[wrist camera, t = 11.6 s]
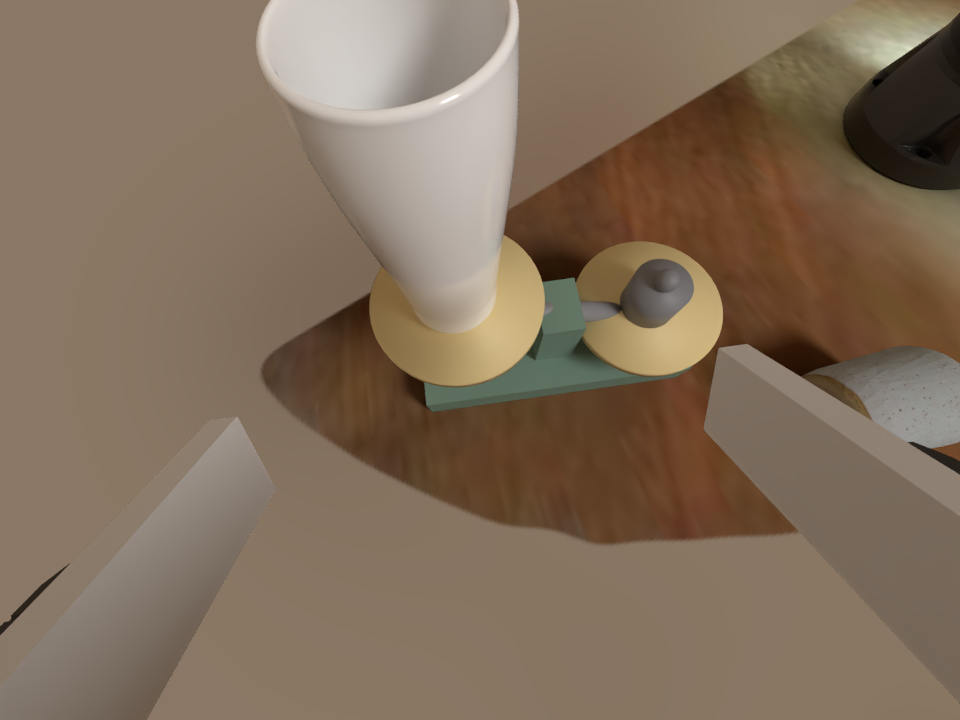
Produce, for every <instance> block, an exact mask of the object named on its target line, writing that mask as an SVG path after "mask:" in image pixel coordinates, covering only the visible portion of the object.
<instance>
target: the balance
mask: <svg viewBox="0 0 960 720" xmlns="http://www.w3.org/2000/svg"><path fill="white" fill-rule="evenodd" d="M369 313H370V321H371V325H372V329H373V332H374V334H375V337H376V339H377V341H378V343H379V345H380V346H381V348H382V349H383V351H384V352H385V353H386V354H387V356H388V357H389V358H390V359H391V360H392V361H393V362H394V363H395V364H396V365H397V366H398V367H399V368H400V369H401V370H403V371H404V372H406V373H407V374H409V375H410V376H412V377H414V378H416V379H418V380H420V381H422V382H424V385H425V396H426V406H427V407H428V408H429V409H430V410H431V411H432V412H435V411H442V410H449V409H456V408H463V407H470V406H477V405H484V404H491V403H498V402H505V401H512V400H519V399H526V398H533V397H540V396H547V395H554V394H561V393H568V392H575V391H582V390H589V389H596V388H603V387H610V386H617V385H624V384H631V383H638V382H645V381H652V380H659V379H666V378H673V377H676V376H678V375H680V374H682V373H683V372H685V371H687V370H689V369H690V368H691V366H692V365H694V364H695V363H697V362H698V361H699V360H701V359H702V358H703V357H704V356H705V355H706V354H707V353H708V352H709V351H710V350H711V349H712V347H713V346H714V345H715V343H716V341H717V339H718V337H719V334H720V331H721V328H722V321H723V309H722V302H721V299H720V295H719V292H718V290H717V288H716V286H715V284H714V282H713V281H712V279H711V277H710V276H709V275H708V274H707V272H706V271H705V270H704V269H703V268H702V267H701V266H700V265H699V264H698V263H697V262H696V261H694V260H693V259H692V258H690V257H689V256H687V255H686V254H684V253H682V252H680V251H678V250H676V249H674V248H671V247H669V246H666V245H662V244H658V243H652V242H627V243H622V244H618V245H615V246H612V247H610V248H608V249H606V250H604V251H602V252H600V253H599V254H597V255H596V256H595V257H594V258H592V259H591V260H590V261H589V262H588V263H587V265H586V266H585V267H584V268H583V270H582V271H581V273H580V275H579V277H578V279H577V282H575V278H568V279H561V280H554V281H547V282H542V280H541V276H540V274H539V272H538V270H537V267H536V266H535V264H534V263H533V261H532V259H531V258H530V257H529V256H528V254H527V253H526V252H525V251H524V250H523V249H522V248H521V247H520V246H519V245H518V244H517V243H515V242H514V241H512V240H511V239H509V238H508V237H506V236H503V242H502V249H501V255H500V262H499V269H498V276H497V297H496V302H495V305H494V307H493V309H492V311H491V313H490V314H489V316H488V317H487V318H486V319H485V320H484V321H483V322H482V323H481V324H480V325H478V326H477V327H475V328H473V329H471V330H469V331H466V332H462V333H456V334H447V333H441V332H438V331H435V330H433V329H431V328H429V327H427V326H426V325H424V324H423V323H422V322H421V321H420V320H419V319H418V318H417V316H416V315H415V313H414V312H413V310H412V308H411V306H410V304H409V302H408V301H407V299H406V298H405V297H404V295H403V294H402V292H401V291H400V290H399V288H398V287H397V286H396V284H395V283H394V281H393V280H392V279H391V277H390V276H389V275H388V273H387V272H386V271H385V269H384V268H383V267H381V269H380V270H379V272H378V274H377V276H376V278H375V281H374V284H373V287H372V290H371V295H370V305H369Z"/></svg>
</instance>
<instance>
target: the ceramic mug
mask: <svg viewBox="0 0 960 720" xmlns="http://www.w3.org/2000/svg"><path fill="white" fill-rule="evenodd" d="M801 377H802V378H803V379H805V380H807V381H808V382H810V383H811V384H813V385H815V386H816V387H818V388H820V389H821V390H823V391H824V392H826V393H828V394H829V395H831V396H833V397H834V398H836V399H837V400H839V401H841V402H842V403H844V404H846V405H847V406H849V407H850V408H852V409H854V410H855V411H857V412H859V413H860V414H862V415H863V416H865V417H867V418H868V419H870V420H872V421H873V422H875V423H877V424H878V425H880V426H881V427H883V428H885V429H886V430H888V431H890V432H891V433H893V434H894V435H896V436H898V437H899V438H901V439H903V440H904V441H906V442H915V443H918V444H920V445H923V446H925V447H928V448H935V447H940V446H946V445H950V444H954V443H957V442H960V364H959V363H958V362H956V361H955V360H953V359H952V358H950V357H948V356H946V355H944V354H942V353H940V352H937V351H934V350H931V349H927V348H923V347H915V346H898V347H893V348H889V349H886V350H883V351H879V352H876V353H872V354H869V355H865V356H862V357H858V358H854V359H851V360H848V361H845V362H841V363H837V364H834V365H830V366H826V367H822V368H819V369H816V370H814V371H812V372H809V373H807V374H805V375H803V376H801Z"/></svg>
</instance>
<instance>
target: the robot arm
mask: <svg viewBox="0 0 960 720" xmlns="http://www.w3.org/2000/svg"><path fill="white" fill-rule="evenodd" d="M844 127H845V132H846V135H847V137H848V139H849V141H850V143H851V145H852V146H853V148H854V149H855V150H856V152H857V153H858V154H859V155H860V156H861V157H862V158H863V159H864V160H865V161H866V162H867V163H869V164H870V165H871V166H872V167H874V168H875V169H877V170H878V171H880V172H881V173H883V174H885V175H887V176H889V177H891V178H893V179H895V180H897V181H900V182H903V183H906V184H909V185H912V186H916V187H921V188H926V189H935V190H951V189H959V188H960V13H959V14H958V15H957V16H956V17H955V18H954V19H953V20H952V21H951V22H950V23H949V24H948V25H946V26H945V27H944V28H942V29H941V30H939V31H938V32H937V33H935V34H934V35H932V36H931V37H929V38H928V39H926V40H925V41H923V42H922V43H921V44H919V45H918V46H916V47H915V48H913V49H912V50H910V51H909V52H908V53H906V54H905V55H903V56H902V57H900V58H899V59H897V60H896V61H894V62H893V63H892V64H890V65H889V66H887V67H886V68H884V69H883V70H881V71H880V72H879V73H877V74H876V75H875V76H874V77H872V78H871V79H870V80H869V81H868V82H867V83H866V84H865V85H864V86H863V88H862V89H861V90H860V91H859V92H858V93H857V94H856V95H855V96H854V97H853V98H852V99H851V101H850V102H849V104H848V106H847V108H846V110H845V114H844ZM704 430H705V432H706V433H707V434H708V435H709V436H710V437H711V438H712V439H713V440H714V441H715V442H716V443H717V444H718V445H719V446H720V448H721V449H722V450H723V451H724V452H725V453H726V454H727V455H728V456H729V457H730V458H731V459H732V460H733V461H734V463H735V464H736V465H737V466H738V467H739V468H740V469H741V470H742V471H743V472H744V473H745V474H746V475H747V476H748V478H749V479H750V480H751V481H752V482H753V483H754V484H755V485H756V486H757V487H758V488H759V489H760V490H761V491H762V492H763V494H764V495H765V496H766V497H767V498H768V499H769V500H770V501H771V502H772V503H773V504H774V505H775V506H776V507H777V509H778V510H779V511H780V512H781V513H782V514H783V515H784V516H785V517H786V518H787V519H788V520H789V521H790V522H791V524H792V525H793V526H794V527H795V528H796V529H797V530H798V531H799V532H800V533H801V534H802V535H803V536H804V537H805V538H806V539H807V541H808V542H809V543H810V544H811V545H812V546H813V547H814V548H815V549H816V550H817V551H818V552H819V553H820V555H821V556H822V557H823V558H824V559H825V560H826V561H827V562H828V563H829V564H830V565H831V566H832V567H833V568H834V569H835V570H836V572H837V573H838V574H839V575H840V576H841V577H842V578H843V579H844V580H845V581H846V582H847V583H848V584H849V585H850V587H852V589H853V590H854V591H855V592H856V593H857V594H858V595H859V596H860V597H861V598H862V599H863V600H864V602H865V603H866V604H867V605H868V606H869V607H870V608H871V609H872V610H873V611H874V612H875V613H876V614H877V616H879V618H880V619H881V620H882V621H883V622H884V623H885V624H886V625H887V626H888V627H889V628H890V629H891V630H892V632H894V634H895V635H896V636H897V637H898V638H899V639H900V640H901V641H902V642H903V643H904V644H905V645H906V647H908V648H909V650H910V651H911V652H912V653H913V654H914V655H915V656H916V657H917V658H918V659H919V660H920V661H921V662H922V664H923V665H924V666H925V667H926V668H927V669H928V670H929V671H930V672H931V673H932V674H933V675H934V676H935V677H936V679H937V680H938V681H939V682H940V683H941V684H942V685H943V686H944V687H945V688H946V689H947V690H948V691H949V693H951V695H952V696H953V697H954V698H955V699H956V700H957V701H958V702H959V703H960V461H958V460H956V459H955V458H952V457H950V456H947V455H945V454H942V453H940V452H937V451H935V450H933V449H930V448H928V447H925V446H923V445H920V444H918V443H915V442H906V441H904V440H903V439H901V438H899V437H898V436H896V435H894V434H893V433H891V432H890V431H888V430H886V429H885V428H883V427H881V426H880V425H878V424H877V423H875V422H873V421H872V420H870V419H868V418H867V417H865V416H863V415H862V414H860V413H859V412H857V411H855V410H854V409H852V408H850V407H849V406H847V405H846V404H844V403H842V402H841V401H839V400H837V399H836V398H834V397H833V396H831V395H829V394H828V393H826V392H824V391H823V390H821V389H820V388H818V387H816V386H815V385H813V384H811V383H810V382H808V381H807V380H805V379H803V378H802V377H800V376H798V375H797V374H795V373H794V372H792V371H790V370H789V369H787V368H785V367H784V366H782V365H781V364H779V363H777V362H776V361H774V360H772V359H771V358H769V357H768V356H766V355H764V354H763V353H761V352H759V351H758V350H756V349H754V348H753V347H751V346H750V345H748V344H743V345H736V346H729V347H722V348H718V354H717V359H716V365H715V370H714V376H713V381H712V386H711V392H710V397H709V403H708V408H707V414H706V419H705V425H704ZM275 490H276V488H275V487H274V485H273V483H272V481H271V479H270V477H269V475H268V473H267V471H266V470H265V468H264V466H263V464H262V462H261V460H260V458H259V457H258V454H257V453H256V451H255V449H254V447H253V445H252V443H251V441H250V439H249V437H248V436H247V434H246V432H245V430H244V428H243V426H242V424H241V423H240V421H239V419H238V417H237V416H236V417H229V418H221V419H214V420H209V421H208V422H207V423H206V424H205V425H204V426H203V427H202V428H201V430H200V431H199V432H198V433H197V434H196V435H195V436H194V437H193V438H192V439H191V440H190V441H189V442H188V443H187V444H186V445H185V446H184V447H183V448H182V449H181V450H180V451H179V452H178V453H177V454H176V455H175V456H174V457H173V458H172V459H171V460H170V461H169V462H168V463H167V464H166V466H165V467H164V468H163V469H162V470H161V471H160V472H159V473H158V474H157V475H156V476H155V477H154V478H153V479H152V480H151V481H150V482H149V483H148V484H147V485H146V486H145V487H144V488H143V489H142V490H141V491H140V492H139V493H138V494H137V495H136V497H134V498H133V500H131V502H130V503H129V504H128V505H127V506H126V507H125V508H124V509H123V510H122V511H121V512H120V513H119V514H118V515H117V516H116V517H115V518H114V519H113V520H112V521H111V522H110V523H109V524H108V525H107V526H106V527H105V528H104V529H103V530H102V531H101V532H100V533H99V534H98V535H97V536H96V538H95V539H94V540H93V541H92V542H91V543H90V544H89V545H88V546H87V547H86V548H85V549H84V550H83V551H82V552H81V553H80V554H79V555H78V556H77V557H76V558H75V559H74V560H73V561H72V562H71V563H70V564H68V565H67V566H66V567H64V568H63V569H62V570H60V571H59V572H58V573H57V574H55V575H54V576H53V577H51V578H50V579H49V580H47V581H46V582H45V583H43V584H42V585H41V586H40V587H39V588H38V589H37V590H36V591H35V592H34V593H33V594H32V595H31V596H30V597H29V598H28V599H27V600H26V601H25V602H24V603H23V604H22V605H21V606H20V607H19V608H18V609H17V610H16V611H15V612H14V613H13V614H12V615H11V620H10V621H9V622H4V623H3V625H1V626H0V720H147V718H148V717H149V715H150V713H151V711H152V709H153V708H154V706H155V704H156V702H157V700H158V699H159V697H160V695H161V693H162V691H163V689H164V688H165V686H166V684H167V682H168V681H169V679H170V677H171V676H172V674H173V672H174V670H175V668H176V667H177V665H178V663H179V661H180V659H181V658H182V656H183V654H184V652H185V650H186V649H187V647H188V645H189V643H190V642H191V640H192V638H193V636H194V634H195V633H196V631H197V629H198V627H199V626H200V624H201V622H202V620H203V618H204V617H205V615H206V613H207V611H208V609H209V608H210V606H211V604H212V602H213V600H214V599H215V597H216V595H217V593H218V592H219V590H220V588H221V586H222V584H223V583H224V581H225V579H226V577H227V575H228V574H229V572H230V570H231V568H232V566H233V565H234V563H235V561H236V559H237V558H238V556H239V554H240V552H241V550H242V549H243V547H244V545H245V543H246V542H247V540H248V538H249V536H250V534H251V533H252V531H253V529H254V527H255V525H256V524H257V522H258V520H259V518H260V517H261V515H262V513H263V511H264V509H265V508H266V506H267V504H268V502H269V500H270V499H271V497H272V495H273V493H274V491H275Z"/></svg>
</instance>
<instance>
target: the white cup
mask: <svg viewBox="0 0 960 720" xmlns="http://www.w3.org/2000/svg"><path fill="white" fill-rule="evenodd" d="M256 54H257V59H258V63H259V67H260V69H261V71H262V74H263V76H264V78H265V80H266V81H267V83H268V85H269V87H270V89H271V90H272V92H273V94H274V96H275V98H276V100H277V102H278V104H279V106H280V108H281V110H282V111H283V114H284V115H285V117H286V119H287V121H288V123H289V125H290V127H291V129H292V130H293V132H294V134H295V136H296V138H297V140H298V141H299V143H300V145H301V146H302V148H303V150H304V152H305V154H306V155H307V157H308V159H309V161H310V162H311V164H312V166H313V167H314V169H315V170H316V172H317V174H318V176H319V177H320V179H321V180H322V182H323V184H324V185H325V187H326V189H327V190H328V192H329V193H330V194H331V196H332V198H333V199H334V201H335V202H336V204H337V205H338V207H339V208H340V209H341V211H342V213H343V214H344V215H345V217H346V218H347V219H348V221H349V222H350V223H351V225H352V226H353V228H354V229H355V230H356V232H357V233H358V234H359V236H360V237H361V238H362V240H363V241H364V242H365V244H366V245H367V246H368V248H369V249H370V250H371V252H372V253H373V254H374V256H375V257H376V258H377V260H378V261H379V262H380V264H381V265H382V267H383V268H384V269H385V271H386V272H387V273H388V275H389V276H390V277H391V279H392V280H393V281H394V283H395V284H396V286H397V287H398V288H399V290H400V291H401V292H402V294H403V295H404V297H405V298H406V299H407V301H408V302H409V304H410V306H411V308H412V310H413V312H414V313H415V315H416V316H417V318H418V319H419V320H420V321H421V322H422V323H423V324H424V325H426V326H427V327H429V328H431V329H433V330H435V331H438V332H441V333H447V334H456V333H462V332H466V331H469V330H471V329H473V328H475V327H477V326H478V325H480V324H481V323H482V322H483V321H484V320H485V319H486V318H487V317H488V316H489V314H490V313H491V311H492V309H493V307H494V305H495V302H496V297H497V276H498V269H499V262H500V255H501V249H502V242H503V236H504V229H505V223H506V217H507V210H508V203H509V197H510V191H511V184H512V177H513V169H514V161H515V151H516V140H517V125H518V98H519V97H518V95H519V12H518V5H517V1H516V0H270V1H269V2H268V4H267V6H266V8H265V9H264V11H263V14H262V16H261V18H260V21H259V24H258V28H257V33H256Z"/></svg>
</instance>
